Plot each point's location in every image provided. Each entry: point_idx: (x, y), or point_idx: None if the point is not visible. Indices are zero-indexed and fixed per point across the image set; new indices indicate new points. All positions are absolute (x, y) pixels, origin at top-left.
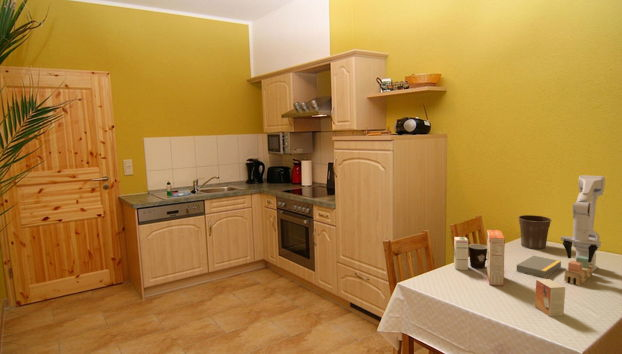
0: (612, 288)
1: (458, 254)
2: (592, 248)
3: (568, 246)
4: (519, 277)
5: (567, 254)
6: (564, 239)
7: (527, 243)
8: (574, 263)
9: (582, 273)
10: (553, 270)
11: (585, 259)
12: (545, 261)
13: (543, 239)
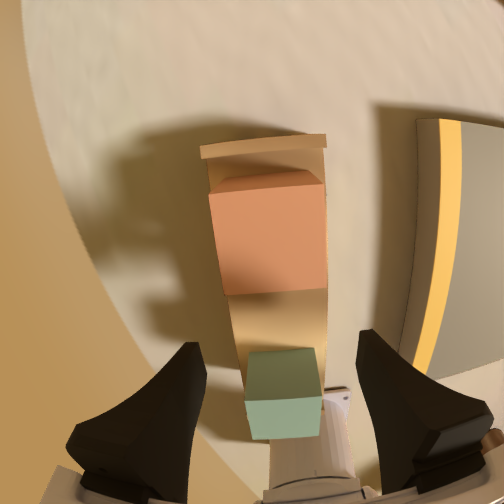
0: (98, 245)
1: None
2: (81, 436)
3: (416, 412)
4: (485, 42)
5: (388, 347)
6: (477, 481)
7: (496, 439)
8: (267, 207)
9: None
10: (417, 271)
11: (255, 398)
12: (470, 324)
13: None
